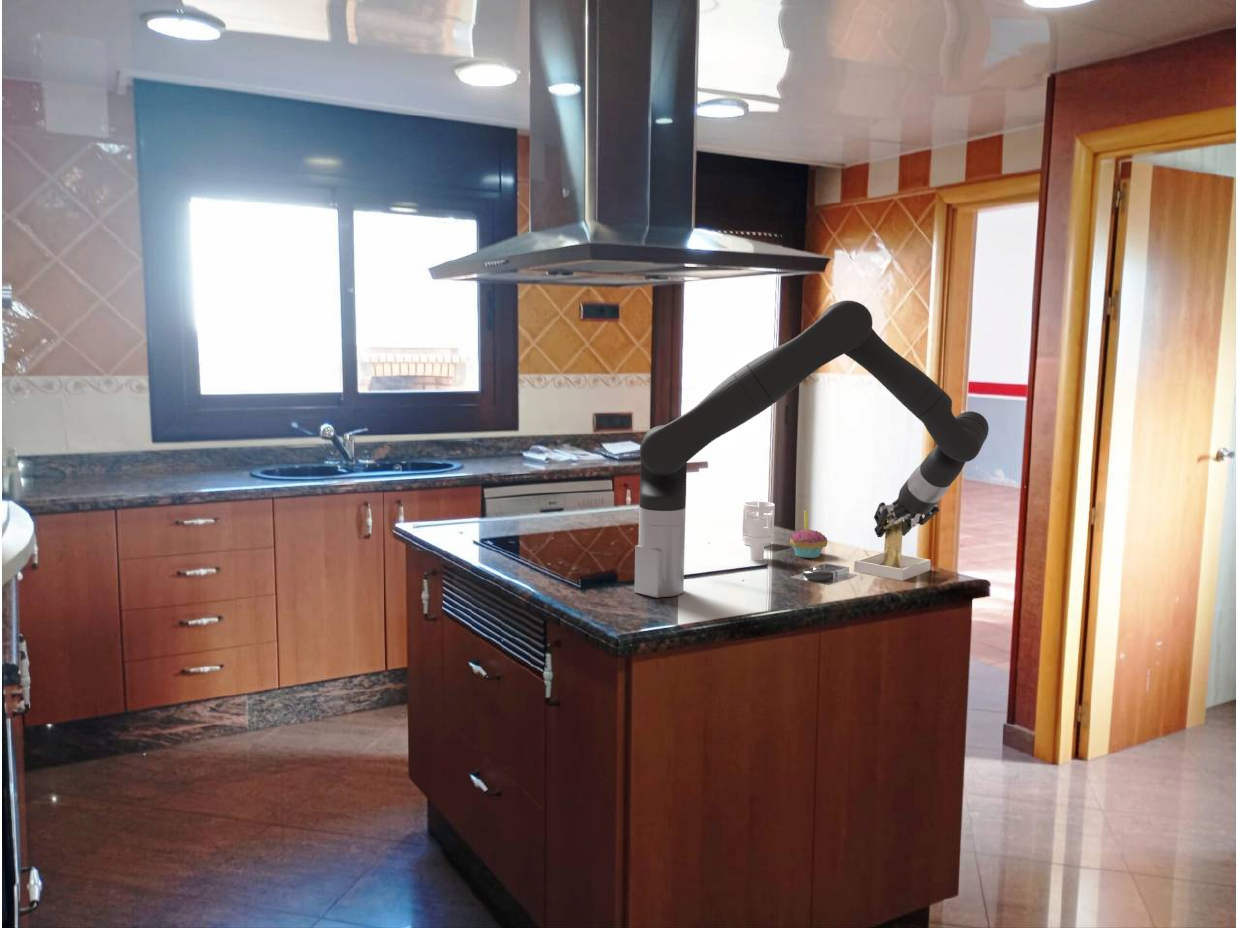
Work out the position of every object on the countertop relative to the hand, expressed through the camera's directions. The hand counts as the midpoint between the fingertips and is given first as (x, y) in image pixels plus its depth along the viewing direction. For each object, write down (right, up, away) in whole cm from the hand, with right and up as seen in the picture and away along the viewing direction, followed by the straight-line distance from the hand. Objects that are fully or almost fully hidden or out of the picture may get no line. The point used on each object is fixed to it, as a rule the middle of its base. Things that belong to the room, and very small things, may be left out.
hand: (889, 532), depth 214 cm
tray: (0, -9, 0) cm, 9 cm away
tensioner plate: (-16, -10, -6) cm, 19 cm away
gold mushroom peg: (0, -9, -1) cm, 9 cm away
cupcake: (-15, -7, +13) cm, 22 cm away
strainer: (-28, -8, +9) cm, 30 cm away
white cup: (-25, -5, +30) cm, 39 cm away
